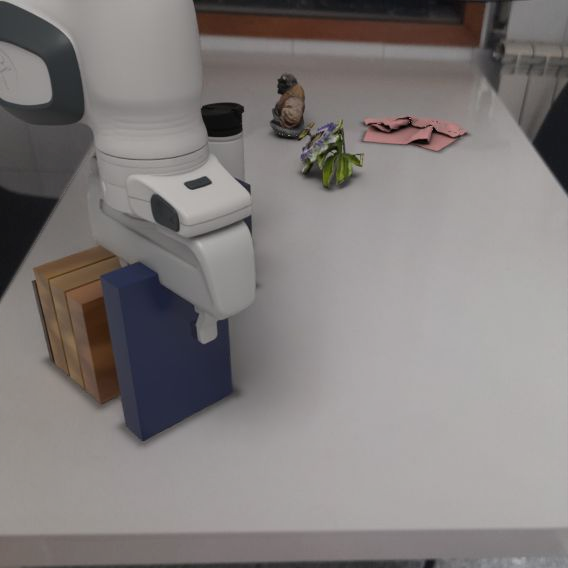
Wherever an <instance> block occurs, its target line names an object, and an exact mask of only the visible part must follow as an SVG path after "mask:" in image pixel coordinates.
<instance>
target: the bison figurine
mask: <svg viewBox="0 0 568 568" xmlns="http://www.w3.org/2000/svg"><path fill="white" fill-rule="evenodd" d="M276 88H277V95H280V98H279V99H278V100H277V101H276V102H275V105H274V107H273V108H272V109H271V113H272V117H273V118H272V119H271V120H269V126H270V127H271V129H272V130H273V131H274V133H275V134H276V135H278V136H281V137H286V138H296V137H297V136H296V135H298V136H299V135H300V134H301V133H302V132H303V130H304V128H305V119H304V113H305V112H306V111H305V110H306V103H305V100H306V96H305V90H304V88H303V86H302V85H301V84H299V83H298V79H297V78H296V77H295V75H293V74H292V73H288V72H287V71H285V73H282V75H281V76H280V77H279V78H277V84H276ZM276 132H277V133H276ZM279 133H280V134H279ZM282 134H283V135H282ZM288 135H290V136H288Z"/></svg>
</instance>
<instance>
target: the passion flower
mask: <svg viewBox="0 0 568 568" xmlns="http://www.w3.org/2000/svg"><path fill="white" fill-rule="evenodd" d="M343 122H344V120H343V119H342V118H340V119H338V121H337V122H336V123H334V121H332V122H330V123H327V124H324V126H322V125H321V127H317V131H316V132H315V134H312V133H311V131H312V128H313V127H314V126H315V122H311V123H309V124H308V125H307V126H306V127H303V129H302V131H301V133H300V134H299V135H298V136H297V142H299V141H301V140H302V139H303V138H305V137H306V136H309V137H310V138H309V140H308V142H307V143H306V144H305V146H302V153H301V154H300V157H299V159H301V160H300V161H301V162H302V164H304V166H303V168H302V171H301V173H302V174H309V173H310V172H311V170H312V168H313V166H314V164H316V163H317V162H318V168H319V169H320V170H322V184H323V186H325V187H327V189H328V190H330V189H331V183H332V181H333V178H334V175H335V173H336V178H335V179H336V181H335V182H336V185H337V186H340V184H342V183H343V182H344V181H347V180H348V179H349V178H350V177H352V174H353V168H354V167H353V165H354V166H355V167H358V168H359V167H360V168H362V167H363V165H364V162H363V161H364V156H365V153H364V152H361V153H353V154H352V153H349V152H346V143H345V130H344V127H343V124H344V123H343ZM333 151H336V152H333ZM329 153H331V155H329ZM328 155H329V156H328ZM357 156H359V157H357ZM335 166H336V168H337V169H336V171H335Z"/></svg>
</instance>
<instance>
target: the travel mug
mask: <svg viewBox="0 0 568 568" xmlns="http://www.w3.org/2000/svg"><path fill="white" fill-rule="evenodd" d="M244 113H245V106H244V105H241V103H238V102H232V101H231V102H229V101H228V102H227V101H226V102H225V101H224V102H222V101H221V102H214V103H208V104H204V105H201V115H202V119H203V122H204V124H205V127H206V130H207V134H208V144H209V153H212V154H213V155H215V157H216V158H217V159H218V161H219V162H220V163H221V165H222V166H223V167H224V168H225V169H226V170H227V172H228V173H229V174H230V175H231V176H233V177H234V178H237V179H239V180H241V181H244V182H246V177H245V176H246V173H245V145H244V143H245V142H244V128H243V114H244Z"/></svg>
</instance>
